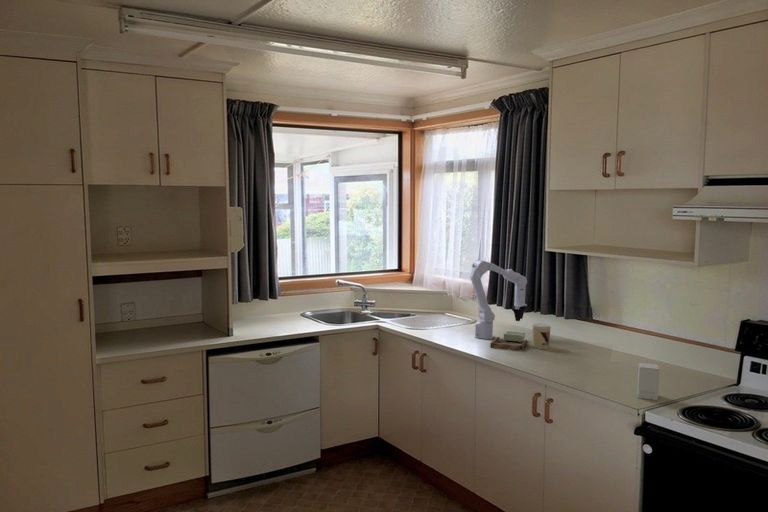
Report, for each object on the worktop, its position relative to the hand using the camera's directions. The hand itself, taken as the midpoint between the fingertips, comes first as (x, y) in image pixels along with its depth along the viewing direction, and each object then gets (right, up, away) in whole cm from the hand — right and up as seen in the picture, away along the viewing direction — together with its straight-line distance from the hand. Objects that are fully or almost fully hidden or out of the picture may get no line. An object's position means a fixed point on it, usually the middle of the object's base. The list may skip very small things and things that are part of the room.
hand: (519, 319), depth 345 cm
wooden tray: (-10, -12, -22) cm, 27 cm away
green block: (-5, -10, -10) cm, 16 cm away
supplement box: (+28, -20, -103) cm, 109 cm away
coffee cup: (+6, -12, -25) cm, 28 cm away
